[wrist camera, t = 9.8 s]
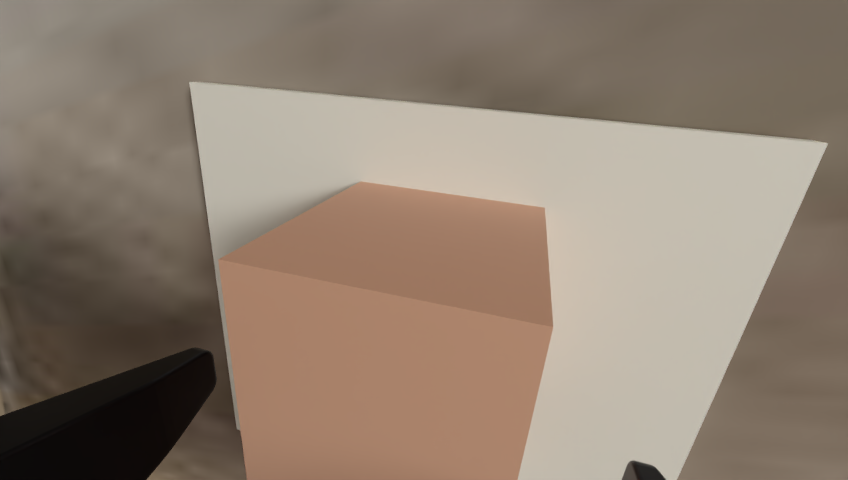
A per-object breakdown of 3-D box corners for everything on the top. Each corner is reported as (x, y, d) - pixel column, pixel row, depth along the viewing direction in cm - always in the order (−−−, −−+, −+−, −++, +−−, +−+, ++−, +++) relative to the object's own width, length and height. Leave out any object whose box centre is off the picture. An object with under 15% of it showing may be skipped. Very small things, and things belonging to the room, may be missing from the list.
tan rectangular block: (494, 458, 12) (470, 680, 8) (356, 421, 13) (262, 597, 9) (544, 207, 9) (553, 327, 5) (360, 181, 10) (218, 259, 6)
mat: (811, 140, 8) (828, 143, 7) (640, 535, 12) (644, 551, 12) (204, 81, 11) (189, 81, 10) (245, 419, 15) (236, 428, 15)
